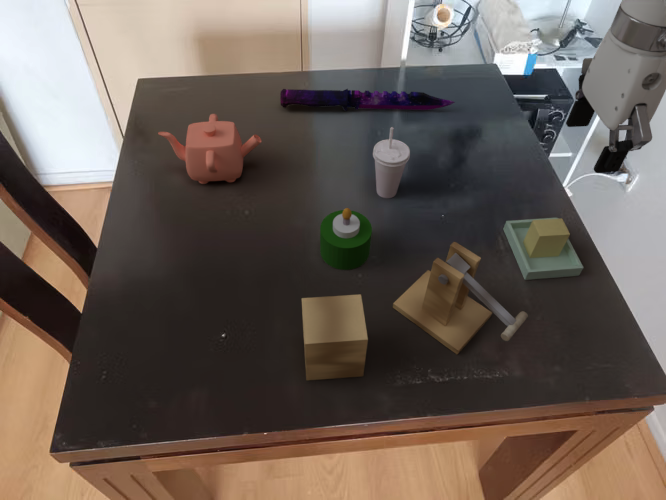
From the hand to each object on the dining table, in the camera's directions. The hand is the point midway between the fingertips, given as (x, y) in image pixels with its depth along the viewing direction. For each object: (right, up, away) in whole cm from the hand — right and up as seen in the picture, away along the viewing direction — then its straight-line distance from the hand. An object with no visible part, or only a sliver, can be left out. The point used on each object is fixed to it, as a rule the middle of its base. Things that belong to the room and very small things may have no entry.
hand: (590, 147), depth 74 cm
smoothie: (-25, -3, +26) cm, 37 cm away
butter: (0, -14, +17) cm, 22 cm away
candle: (-33, -14, +17) cm, 40 cm away
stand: (-35, -29, +4) cm, 46 cm away
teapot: (-57, +1, +29) cm, 64 cm away
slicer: (-19, -24, +9) cm, 31 cm away
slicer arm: (-15, -21, +1) cm, 26 cm away
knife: (-28, +16, +42) cm, 53 cm away
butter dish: (0, -14, +17) cm, 22 cm away
